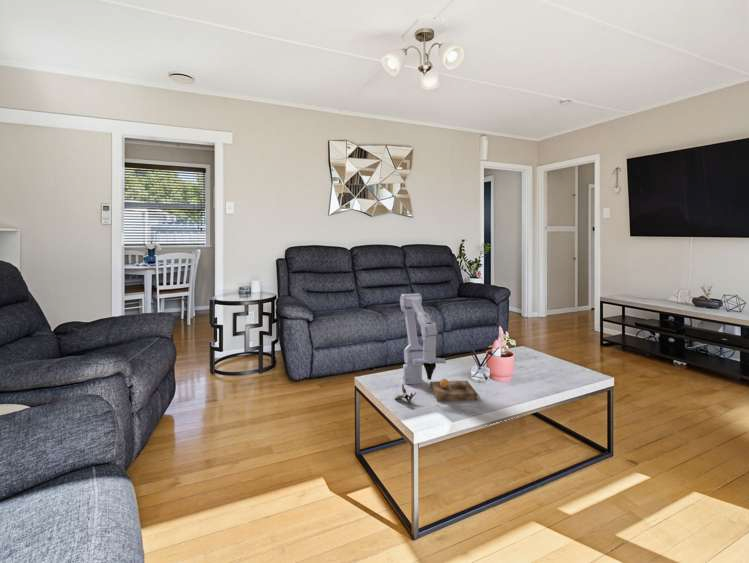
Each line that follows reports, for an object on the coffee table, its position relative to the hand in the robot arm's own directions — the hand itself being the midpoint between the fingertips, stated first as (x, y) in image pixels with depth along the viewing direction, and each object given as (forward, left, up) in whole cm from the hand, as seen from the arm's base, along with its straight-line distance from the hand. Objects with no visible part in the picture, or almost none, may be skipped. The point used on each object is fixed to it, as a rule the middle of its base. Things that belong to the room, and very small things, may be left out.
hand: (429, 378), depth 184 cm
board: (+11, 0, -7) cm, 13 cm away
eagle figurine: (-12, -6, -8) cm, 16 cm away
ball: (+7, 0, -2) cm, 7 cm away
